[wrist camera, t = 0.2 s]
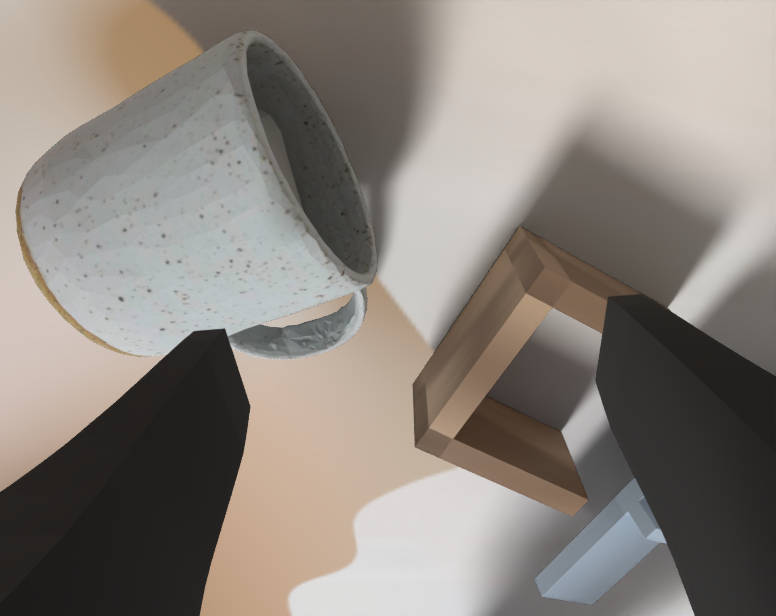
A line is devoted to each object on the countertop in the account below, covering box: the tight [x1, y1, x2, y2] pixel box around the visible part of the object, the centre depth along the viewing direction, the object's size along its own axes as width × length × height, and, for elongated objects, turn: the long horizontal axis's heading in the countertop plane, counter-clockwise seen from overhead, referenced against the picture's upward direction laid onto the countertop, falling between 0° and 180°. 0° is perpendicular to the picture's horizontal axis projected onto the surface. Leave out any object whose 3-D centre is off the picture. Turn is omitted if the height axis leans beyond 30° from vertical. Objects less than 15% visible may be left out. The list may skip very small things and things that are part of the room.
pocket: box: [413, 226, 670, 517], centre depth 21 cm, size 8×7×4 cm
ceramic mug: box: [16, 30, 377, 360], centre depth 17 cm, size 11×8×8 cm
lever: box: [534, 477, 667, 605], centre depth 24 cm, size 12×14×3 cm
